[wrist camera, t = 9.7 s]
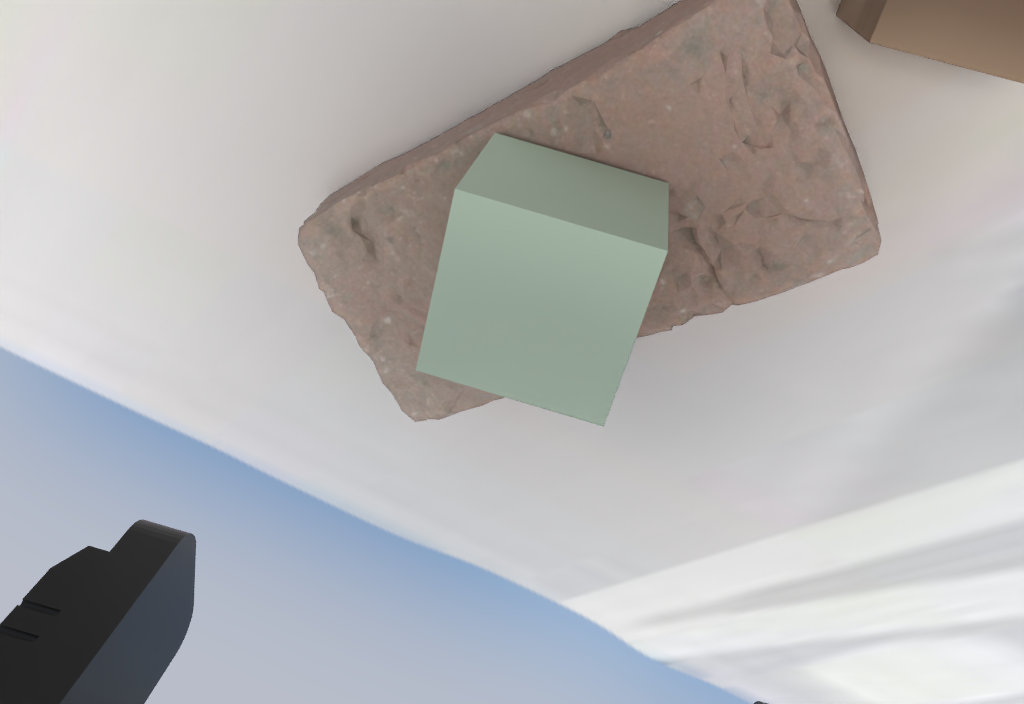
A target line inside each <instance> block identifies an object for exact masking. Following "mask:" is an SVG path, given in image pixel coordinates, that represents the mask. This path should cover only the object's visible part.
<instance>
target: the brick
mask: <svg viewBox="0 0 1024 704" xmlns="http://www.w3.org/2000/svg"><path fill="white" fill-rule="evenodd" d="M494 133H498V134H501V135H505V136H508V137H512V138H515V139H519V140H522V141H525V142H529V143H532V144H536V145H539V146H543V147H546V148H550V149H553V150H556V151H560V152H563V153H567V154H570V155H574V156H577V157H580V158H584V159H587V160H591V161H594V162H598V163H601V164H605V165H608V166H611V167H615V168H618V169H622V170H625V171H629V172H632V173H635V174H639V175H642V176H646V177H649V178H653V179H656V180H660V181H663V182H666V183H669V207H668V252H667V255H666V258H665V260H664V263H663V266H662V268H661V271H660V274H659V277H658V279H657V282H656V285H655V288H654V290H653V293H652V296H651V299H650V301H649V304H648V307H647V309H646V312H645V315H644V318H643V320H642V323H641V326H640V329H639V331H638V334H637V337H636V338H638V337H642V336H648V335H651V334H655V333H659V332H662V331H669V330H672V327H673V326H677V325H683V324H685V323H686V322H688V321H689V320H690V319H692V318H693V317H694V316H701V315H709V314H716V313H722V312H723V311H724V310H726V309H727V308H728V307H729V306H730V305H741V304H746V303H751V302H754V301H758V300H761V299H764V298H767V297H770V296H773V295H776V294H779V293H782V292H785V291H788V290H790V289H793V288H795V287H798V286H801V285H803V284H806V283H808V282H811V281H814V280H816V279H819V278H821V277H824V276H826V275H829V274H831V273H833V272H836V271H838V270H840V269H845V268H850V267H853V266H856V265H858V264H861V263H864V262H865V261H867V260H869V259H870V258H872V257H874V256H876V255H877V254H878V251H879V248H880V244H881V237H880V233H879V230H878V226H877V225H878V220H877V217H876V213H875V210H874V206H873V203H872V199H871V196H870V192H869V189H868V186H867V183H866V181H865V177H864V173H863V170H862V168H861V165H860V162H859V159H858V156H857V153H856V150H855V147H854V145H853V143H852V140H851V138H850V136H849V133H848V131H847V128H846V126H845V123H844V121H843V118H842V115H841V113H840V110H839V107H838V104H837V101H836V98H835V95H834V92H833V89H832V86H831V83H830V80H829V78H828V75H827V72H826V69H825V66H824V64H823V62H822V59H821V57H820V55H819V53H818V51H817V49H816V47H815V45H814V43H813V41H812V39H811V36H810V34H809V32H808V30H807V27H806V24H805V21H804V19H803V16H802V13H801V10H800V8H799V5H798V3H797V1H796V0H682V1H680V2H678V3H676V4H674V5H673V6H671V7H670V8H669V9H667V10H666V11H664V12H662V13H661V14H659V15H657V16H656V17H654V18H652V19H651V20H649V21H648V22H646V23H644V24H643V25H641V26H640V27H635V28H631V29H628V30H625V31H620V32H619V33H617V34H616V35H615V36H613V37H612V38H611V39H609V40H608V41H607V42H605V43H604V44H602V45H600V46H598V47H596V48H595V49H593V50H591V51H589V52H587V53H585V54H583V55H581V56H579V57H577V58H575V59H574V60H572V61H570V62H568V63H566V64H564V65H563V66H561V67H559V68H556V69H553V70H552V71H550V72H549V73H547V74H546V75H544V76H543V77H541V78H540V79H539V80H537V81H535V82H533V83H532V84H530V85H528V86H526V87H524V88H522V89H521V90H519V91H517V92H515V93H514V94H512V95H510V96H509V97H507V98H505V99H504V100H502V101H500V102H498V103H496V104H494V105H492V106H490V107H488V108H487V109H486V110H484V111H483V112H481V113H480V114H478V115H476V116H473V117H471V118H469V119H467V120H465V121H464V122H462V123H461V124H459V125H458V126H456V127H454V128H452V129H449V130H448V131H446V132H444V133H443V134H441V135H439V136H437V137H436V138H434V139H432V140H430V141H429V142H427V143H425V144H423V145H421V146H419V147H417V148H415V149H413V150H411V151H409V152H407V153H405V154H403V155H401V156H399V157H396V158H394V159H391V160H389V161H386V162H384V163H381V164H380V165H378V166H377V167H375V168H373V169H372V170H370V171H369V172H367V173H366V174H364V175H363V176H361V177H360V178H358V179H356V180H355V181H353V182H352V183H350V184H348V185H347V186H345V187H343V188H342V189H340V190H338V191H337V192H335V193H333V194H331V195H330V196H329V197H328V198H327V199H326V200H324V201H323V202H322V203H321V204H320V206H319V207H318V208H317V211H316V212H315V213H314V214H312V215H311V216H310V217H309V218H308V219H306V220H305V221H304V225H302V226H301V227H300V228H299V234H298V245H299V247H300V249H301V251H302V253H303V256H304V258H305V260H306V262H307V264H308V265H309V267H310V268H311V269H312V271H313V272H314V274H315V277H316V280H317V283H318V286H319V289H320V290H322V291H323V292H324V293H325V296H326V298H327V301H328V303H329V306H330V308H331V310H332V312H334V313H335V314H337V315H338V316H340V317H341V318H343V319H344V320H345V321H346V323H347V324H348V326H349V327H350V329H351V330H352V332H353V333H354V335H355V336H356V339H357V341H358V344H359V346H360V347H361V348H362V349H363V351H364V352H365V353H366V354H367V355H369V356H370V358H371V359H372V361H373V362H374V364H375V366H376V369H377V372H378V374H379V376H380V378H381V380H382V383H383V384H384V385H385V386H386V387H387V388H388V389H389V391H390V392H391V393H392V394H393V396H394V398H395V399H396V401H397V402H398V404H399V406H400V408H401V410H402V411H403V412H404V413H405V414H407V415H408V416H409V417H410V418H411V419H413V420H414V421H415V422H417V421H424V420H427V419H438V420H439V419H442V418H445V417H448V416H450V415H453V414H456V413H458V412H461V411H464V410H468V409H471V408H475V407H479V406H482V405H484V404H486V403H489V402H491V401H493V400H497V399H501V398H504V397H503V396H500V395H497V394H493V393H490V392H487V391H483V390H480V389H476V388H473V387H470V386H466V385H463V384H460V383H456V382H453V381H450V380H446V379H443V378H440V377H436V376H433V375H430V374H426V373H423V372H420V371H416V367H417V362H418V357H419V353H420V348H421V343H422V339H423V334H424V330H425V325H426V320H427V316H428V311H429V307H430V302H431V297H432V293H433V288H434V283H435V279H436V274H437V270H438V265H439V260H440V256H441V251H442V246H443V242H444V237H445V233H446V228H447V223H448V219H449V214H450V210H451V205H452V200H453V196H454V191H455V188H456V187H457V185H458V184H459V182H460V181H461V180H462V178H463V177H464V175H465V174H466V173H467V171H468V170H469V168H470V167H471V166H472V164H473V163H474V161H475V160H476V159H477V157H478V156H479V154H480V153H481V152H482V150H483V149H484V147H485V146H486V144H487V143H488V142H489V140H490V139H491V137H492V136H493V135H494Z"/></svg>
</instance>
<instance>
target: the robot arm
mask: <svg viewBox="0 0 1024 704" xmlns="http://www.w3.org/2000/svg"><path fill="white" fill-rule="evenodd" d="M195 555H196V540H195V536H194V535H193V534H191V533H187V532H184V531H181V530H177V529H173V528H170V527H166V526H163V525H160V524H157V523H153V522H150V521H146V520H139V521H137V522H135V523H134V524H133V525H132V526H131V527H130V528H129V529H128V530H127V532H126V533H125V534H124V535H123V536H122V538H121V539H120V540H119V541H118V543H117V544H116V545H115V546H114V547H113V548H112V550H111V551H110V552H108V551H105V550H101V549H98V548H94V547H91V546H88V547H86V548H84V549H82V550H81V551H79V552H77V553H76V554H74V555H72V556H70V557H69V558H67V559H66V560H64V561H62V562H60V563H59V564H57V565H55V566H53V567H52V568H50V569H49V571H48V572H47V573H46V574H45V575H44V576H43V577H42V578H41V579H40V580H39V582H38V583H37V584H36V585H35V586H34V587H33V588H32V589H31V590H30V592H29V593H28V594H27V595H26V596H25V597H24V598H23V601H22V603H21V605H20V606H18V605H17V606H16V607H15V608H14V610H13V611H12V612H11V613H10V614H9V615H8V616H7V617H6V618H5V619H4V621H3V622H2V623H1V624H0V704H144V703H145V702H146V700H147V698H148V697H149V695H150V694H151V692H152V691H153V689H154V687H155V686H156V684H157V683H158V681H159V680H160V678H161V677H162V675H163V673H164V672H165V670H166V669H167V667H168V666H169V664H170V662H171V661H172V659H173V658H174V656H175V655H176V653H177V651H178V649H179V648H180V646H181V644H182V642H183V640H184V638H185V635H186V633H187V630H188V627H189V624H190V621H191V618H192V613H193V606H194V582H195V581H194V580H195ZM754 704H767V703H763V702H760V701H757V702H755V703H754Z"/></svg>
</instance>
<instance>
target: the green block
mask: <svg viewBox="0 0 1024 704" xmlns="http://www.w3.org/2000/svg"><path fill="white" fill-rule="evenodd" d="M668 207H669V183H666V182H663V181H660V180H656V179H653V178H649V177H646V176H642V175H639V174H635V173H632V172H629V171H625V170H622V169H618V168H615V167H611V166H608V165H605V164H601V163H598V162H594V161H591V160H587V159H584V158H580V157H577V156H574V155H570V154H567V153H563V152H560V151H556V150H553V149H550V148H546V147H543V146H539V145H536V144H532V143H529V142H525V141H522V140H519V139H515V138H512V137H508V136H505V135H501V134H498V133H494V135H493V136H492V137H491V139H490V140H489V142H488V143H487V144H486V146H485V147H484V149H483V150H482V152H481V153H480V154H479V156H478V157H477V159H476V160H475V161H474V163H473V164H472V166H471V167H470V168H469V170H468V171H467V173H466V174H465V175H464V177H463V178H462V180H461V181H460V182H459V184H458V185H457V187H456V188H455V191H454V196H453V200H452V205H451V210H450V214H449V219H448V223H447V228H446V233H445V237H444V242H443V246H442V251H441V256H440V260H439V265H438V270H437V274H436V279H435V283H434V288H433V293H432V297H431V302H430V307H429V311H428V316H427V320H426V325H425V330H424V334H423V339H422V343H421V348H420V353H419V357H418V362H417V367H416V371H420V372H423V373H426V374H430V375H433V376H436V377H440V378H443V379H446V380H450V381H453V382H456V383H460V384H463V385H466V386H470V387H473V388H476V389H480V390H483V391H487V392H490V393H493V394H497V395H500V396H503V397H507V398H510V399H513V400H517V401H520V402H523V403H527V404H530V405H533V406H537V407H540V408H543V409H547V410H550V411H553V412H557V413H560V414H564V415H567V416H570V417H574V418H577V419H580V420H584V421H587V422H590V423H594V424H597V425H600V426H604V424H605V421H606V419H607V416H608V413H609V410H610V408H611V405H612V402H613V400H614V397H615V394H616V391H617V389H618V386H619V383H620V380H621V378H622V375H623V372H624V370H625V367H626V364H627V361H628V359H629V356H630V353H631V350H632V348H633V345H634V342H635V339H636V337H637V334H638V331H639V329H640V326H641V323H642V320H643V318H644V315H645V312H646V309H647V307H648V304H649V301H650V299H651V296H652V293H653V290H654V288H655V285H656V282H657V279H658V277H659V274H660V271H661V268H662V266H663V263H664V260H665V258H666V255H667V252H668Z"/></svg>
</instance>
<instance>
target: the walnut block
mask: <svg viewBox="0 0 1024 704" xmlns="http://www.w3.org/2000/svg"><path fill="white" fill-rule="evenodd" d="M836 15H837V16H838V17H839V18H840V19H841V20H843V21H844V22H845V23H846V24H848V25H849V26H850V27H851V28H852V29H854V30H855V31H856V32H857V33H858V34H860V35H861V36H862V37H863V38H864V39H866V40H867V41H868V42H869V43H873V44H877V45H880V46H884V47H888V48H892V49H895V50H899V51H903V52H907V53H911V54H914V55H918V56H922V57H926V58H929V59H933V60H937V61H941V62H944V63H948V64H952V65H956V66H960V67H963V68H967V69H971V70H975V71H978V72H982V73H986V74H990V75H994V76H997V77H1001V78H1005V79H1009V80H1012V81H1016V82H1020V83H1024V0H841V3H840V6H839V8H838V11H837V13H836Z"/></svg>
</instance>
